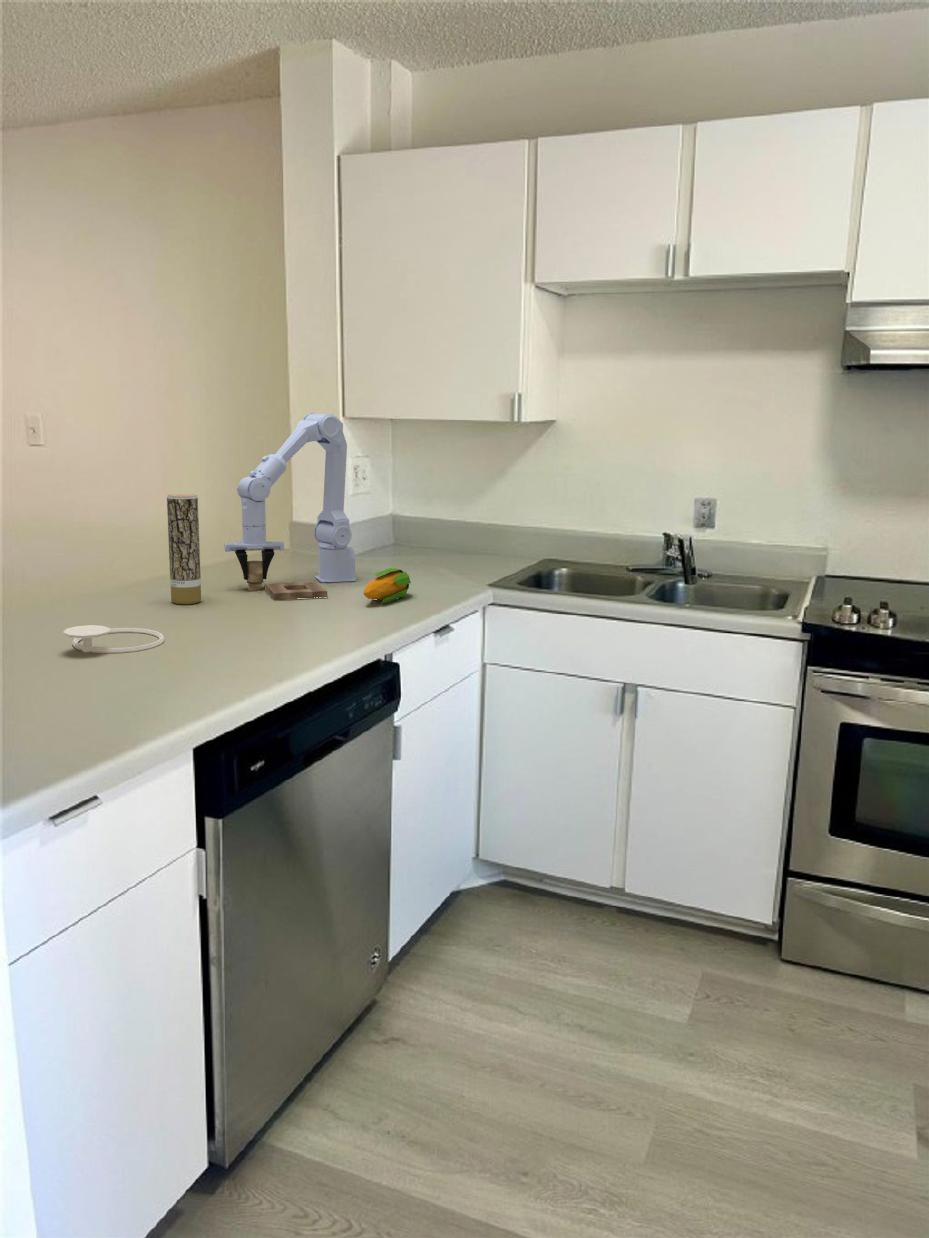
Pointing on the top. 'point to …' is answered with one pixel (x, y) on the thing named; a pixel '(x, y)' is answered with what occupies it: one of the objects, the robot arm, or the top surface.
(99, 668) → the top surface
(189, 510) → the paper tube
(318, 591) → the board
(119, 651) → the hand towel holder
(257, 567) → the peg
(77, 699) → the top surface
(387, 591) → the corn
